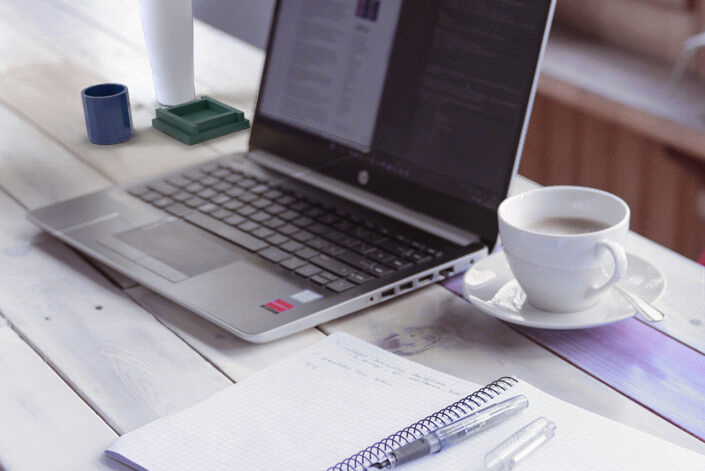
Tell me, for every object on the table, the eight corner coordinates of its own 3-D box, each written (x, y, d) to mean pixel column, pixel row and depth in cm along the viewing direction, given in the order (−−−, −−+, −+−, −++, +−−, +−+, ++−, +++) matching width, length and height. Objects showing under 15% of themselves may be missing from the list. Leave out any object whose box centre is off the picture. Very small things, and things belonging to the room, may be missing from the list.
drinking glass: (171, 112, 126) (158, -1, 119) (141, 101, 130) (126, -9, 123) (211, 99, 130) (201, -11, 124) (180, 89, 135) (168, -18, 128)
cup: (101, 148, 115) (94, 101, 113) (80, 136, 119) (72, 90, 116) (142, 136, 118) (136, 90, 116) (120, 125, 122) (114, 80, 120)
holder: (189, 145, 115) (187, 128, 114) (152, 126, 122) (149, 110, 121) (250, 127, 121) (249, 110, 120) (211, 109, 127) (209, 93, 126)
